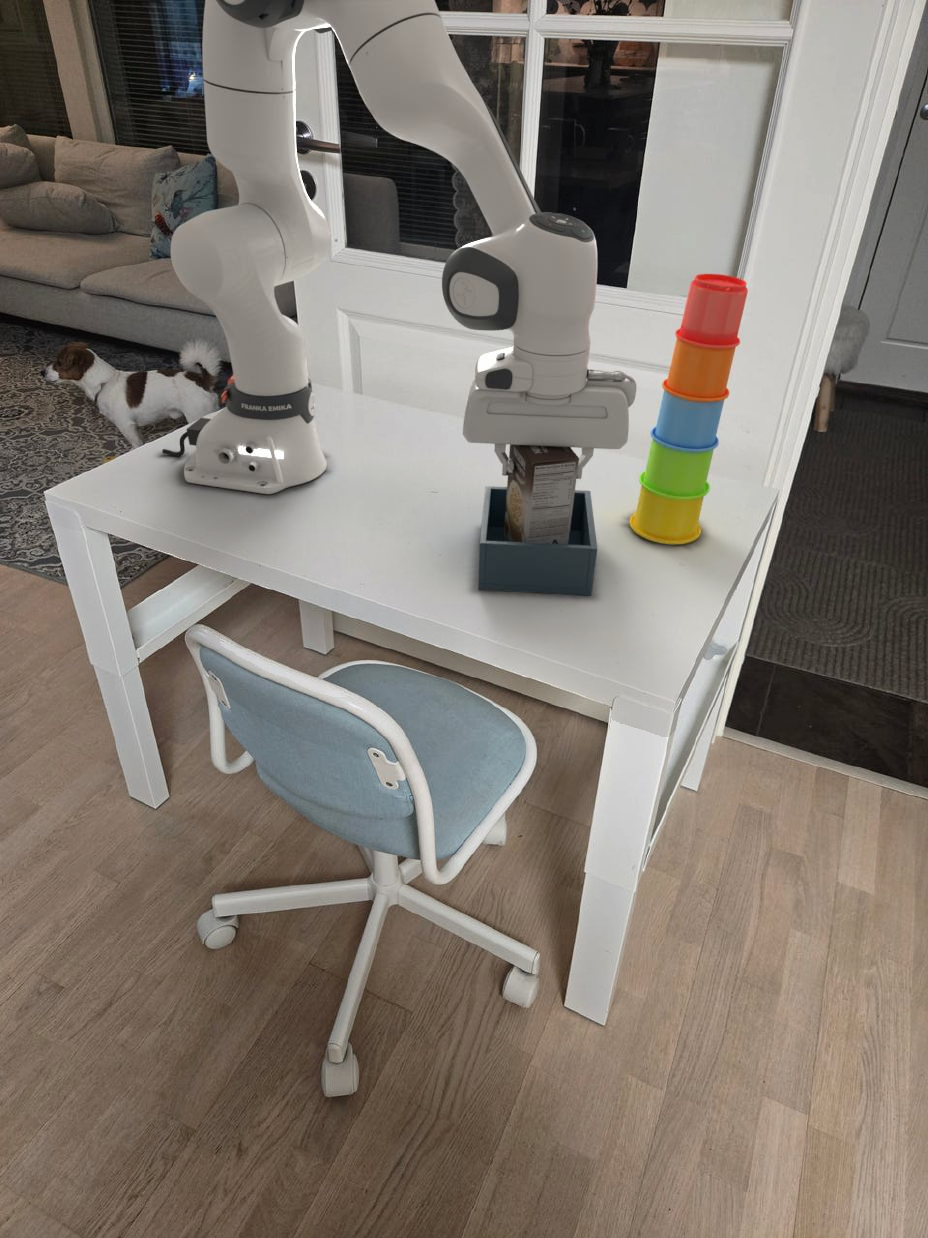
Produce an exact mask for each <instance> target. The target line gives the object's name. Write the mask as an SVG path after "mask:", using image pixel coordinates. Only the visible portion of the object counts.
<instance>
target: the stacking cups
mask: <svg viewBox="0 0 928 1238" xmlns="http://www.w3.org/2000/svg"><path fill="white" fill-rule="evenodd" d="M748 293H749V289H748V287H747V281H746V280H744V279H742V278H739V277H736V276H732V275H726V274H721V273H698V274H696V275H695V276H694V280H692V281H691V282H690V284H689V289H688V294H687V298H686V302H685V307H684V310H683V315H682V319H681V324H680V327H679V328H678V329H676V330H675V332H674V335H675V338H676V339H675V343H674V349H673V353H672V358H671V363H670V367H669V371H668V376H667V378H666V379H664V380H663V381H662V384H661V387H662V389H663V394H662V399H661V403H660V407H659V413H658V417H657V421H656V426H654V427H653V428H652V429H651V431H650V437H651V443H650V444H651V445H650V450H649V452H648V458H647V463H646V468H645V471H643V472H641V474H640V475H639V478H638V481H639V483H640V491H639V495H638V501H637V505H636V506H637V507H636V512H634V513H633V514H632V515H631V516H630V518H629V526H630V528H631V530H632V531H633V532H634V533H635V534H637V535H638V536H640V537H642V538H644V539H645V540H648V541H650V542H654V543H659V544H663V545H674V546H675V545H684V544H689V543H692V542H694V541H696V540H697V539H698V538H699V537H700V535H701V532H702V527H701V525H700V523H699V519H700V515H701V510H702V507H703V501H704V497H705V496H707V495H708V494H709V493H710V489H711V486H710V483H709V482H708V476H709V471H710V469H711V468H710V467H711V464H712V458H713V454H714V451H715V449H716V448H718V447H719V445H720V441H719V438H718V436H717V434H718V429H719V424H720V421H721V416H722V412H723V408H724V403H725V400H726V399H728V397H729V395H730V389H729V388H728V382H729V377H730V373H731V369H732V365H733V360H734V357H735V351H736V348H737V347H738V346H739V345H740V344H741V339H740V337H738V335H739V331H740V327H741V322H742V319H743V314H744V310H745V305H746V301H747V296H748Z"/></svg>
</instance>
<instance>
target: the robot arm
mask: <svg viewBox="0 0 928 1238" xmlns="http://www.w3.org/2000/svg"><path fill="white" fill-rule="evenodd" d="M437 5H438V4H437V2H436V0H205V1H204V11H203V23H202V24H203V25H202V46H201V47H202V54H201V55H202V80H203V95H204V96H203V97H204V112H205V126H206V128H205V129H206V142H207V146H208V149H209V151H210V153H211V155H212V156H213V158H214V159H215V160H216V161H217V162H218V163H219V164H220V165H221V166H222V167H224V168H225V169H227V170H228V171H230V172H231V173H232V175H233V178H234V180H235V183H236V186H237V191H238V199H239V200H238V204H235V205H232V206H231V205H230V206H227V207H222V208H217V209H211V210H207V211H204V212H202V213H199V214H198V215H196V216H194V217H192V218H190V219H189V220H187V221H185V222H183V223H182V224H180V225H179V226H178V227H176V229H175V230H174V232H173V234H172V237H171V241H170V250H169V251H170V260H171V264H172V268H173V270H174V273H175V275H176V277H177V278H178V280H179V282H180V283H181V284H182V286H183V287H184V288H185V290H187V291H188V292H189V293H190V294H191V295H193V296H194V297H195V298H197V299H199V300H201V301H202V302H203V303H205V304H206V305H207V306H208V308H209V309H210V310H211V311H212V312H213V314H214V315H215V317H216V319H217V320H218V322H219V324H220V326H221V327H222V330H223V333H224V336H225V339H226V344H227V348H228V354H229V357H230V358H229V359H230V362H231V369H232V376H231V377H230V378H229V379H228V380H227V385H226V386H225V387H224V388H223V393H222V394H221V395H220V397H221V403H222V404H225V405H226V406H225V407H224V408H223V409H222V410H220V411H219V412H218V413H217V414H216V415H214V416H213V417H212V418H206V417H200V418H199V419H198V420H196V421H195V422H193V423H192V424H191V425H190V426H188V427H187V428H186V431H185V432H184V433H183V434H181V436H180V438H179V451H173V450H169V449H166V448H162V450H161V452H162V454H165V455H168V456H171V457H177V458H178V457H181V456H183V455H184V454H185V452H186V448H185V440H186V439H187V440H188V444H189V446H195V452H193V454H191V456H190V457H188V459H187V461H186V463H185V464H184V468H183V477H184V479H185V482H187V483H188V484H189V483H190V484H194V485H195V484H196V485H202V486H210V487H217V488H222V489H229V490H234V491H235V490H236V491H242V492H243V491H244V492H250V493H256V494H257V493H258V494H263V495H264V494H265V495H272V494H276V493H278V492H281V491H283V490H284V489H287V488H291V487H294V486H299V485H302V484H306V483H308V482H311V481H313V480H315V479H317V478H318V477H320V476H321V475H322V474H323V473H324V472H325V471H326V470H327V468H328V467H327V466H328V463H327V460H326V457H325V455H324V453H323V450H322V447H321V444H320V440H319V437H318V432H317V428H316V423H315V419H314V418H315V412H316V407H315V397H314V396H315V395H314V391H313V385H312V380H311V379H310V378H309V373H308V362H307V353H306V352H307V351H306V341H305V334H304V332H303V330H302V328H301V326H300V325H299V324H298V323H297V322H295V320H293V319H292V318H290V317H288V316H286V315H285V314H282V313H281V310H280V308H279V305H278V303H277V300H276V295H275V288H276V287H277V286H282V285H284V284H287V283H291V282H293V281H296V280H300V279H303V278H304V277H306V276H307V275H309V274H310V273H312V272H314V271H315V270H317V268H319V267H320V266H322V265H323V264H324V263H325V262H326V260H327V259H328V258H329V255H330V251H331V247H332V236H331V231H330V226H329V223H328V221H327V218H326V217H325V215H324V213H323V212H322V210H321V209H320V208H319V207H318V206H317V204H315V203H314V202H313V201H312V200H311V199H310V196H309V195H308V193H307V190H306V187H305V185H304V182H303V179H302V174H301V171H300V166H299V160H298V152H297V151H298V150H297V126H296V71H295V69H296V68H295V57H296V47H297V44H298V41H299V39H300V38H301V37H302V35H303V34H304V33H305V32H306V31H311V30H314V31H315V32H316V33H318V34H324V33H328V32H334V33H335V36H336V38H337V39H338V42H339V44H340V47H341V50H342V52H343V55H344V57H345V60H346V63H347V65H348V67H349V69H350V71H351V72H350V73H351V75H352V78H353V79H354V82H355V85H356V87H357V90H358V92H359V95H360V97H361V99H362V100H363V102H364V104H365V107H367V109H368V111H369V112H370V113H371V115H372V116H373V118H374V120H375V121H376V123H377V124H378V125H379V126H380V127H381V128H382V129H383V130H385V131H386V132H387V133H389V134H390V135H392V136H394V137H396V138H398V139H400V140H403V141H405V142H409V143H411V144H415V145H418V146H421V147H422V148H425V149H427V150H429V151H432V152H433V153H436V154H437V155H439V156H441V157H443V159H446V160H447V161H449V162H450V163H452V165H453V166H455V168H457V169H458V171H459V173H461V175H462V176H463V178H464V180H465V181H466V182H467V185H468V187H469V189H470V191H471V193H472V195H473V197H474V200H475V201H476V203H477V205H478V207H479V209H480V211H481V213H482V215H483V217H484V219H485V221H486V223H487V225H488V227H489V229H490V231H491V233H492V236H489V237H485V238H482V239H479V240H475V241H472V242H470V243H467V244H465V245H462V247H460V248H457V249H456V250H454V251H453V252H452V253H451V254H450V255H449V257H448V258H447V259H446V262H445V264H444V267H443V271H442V277H441V288H442V289H441V291H442V292H441V293H442V296H443V300H444V303H445V306H446V308H447V310H448V311H449V313H450V315H451V316H452V318H454V320H455V321H457V322H458V324H459V325H461V326H463V327H464V328H467V329H468V330H474V331H490V332H491V331H494V332H495V331H504V330H507V331H510V332H511V333H512V336H513V345H512V346H508V347H505V348H502V349H498V350H494V351H490V352H486V353H484V354H483V353H482V354H480V356H479V357H478V359H477V361H476V363H475V367H474V379H473V381H472V382H471V385H470V386H469V389H468V393H467V398H466V403H465V409H464V416H463V424H462V436H463V437H464V439H465V440H466V441H467V442H468V443H470V444H488V445H489V444H491V445H494V453H495V455H496V456H497V459H498V460H499V462H500V463H501V464H502V470H501V476H504V477H505V476H507V477H508V476H513V474H514V458H509V456H508V455H507V452H506V451H507V450H506V449H507V445H509V446H510V445H532V446H554V447H570V448H577V449H578V448H579V449H581V454H580V456H578V457H579V463H578V471H577V478H576V480H582V475H583V469H584V468H585V466H586V465H587V464H588V462H590V460H591V459H592V458H593V456H594V449H600V450H601V449H603V450H621V449H622V448H623V447H624V446H625V445H626V444H627V443H628V440H629V429H630V428H629V426H630V425H629V423H630V417H629V416H630V415H629V408H630V407H631V406H632V405H633V404H634V402H635V399H636V394H637V383H636V380H635V379H634V377H632V376H631V375H629V374H626V373H627V372H625V371H623V370H614V371H611V370H603V369H589V359H590V349H591V335H590V320H591V317H592V316H593V315H592V314H593V312H594V309H595V303H596V294H597V281H598V280H597V279H598V246H597V239H596V237H595V234H594V231H593V230H592V228H590V226H589V225H587V224H586V222H584V221H582V220H581V219H578V218H576V217H574V216H571V215H568V214H564V213H556V212H550V211H549V212H548V211H543V212H542V211H541V209H540V206H538V203H537V202H536V200H535V198H534V195H533V194H532V191H531V189H530V187H529V185H528V183H527V180H526V179H525V177H524V175H523V173H522V171H521V168H520V166H519V163H518V162H517V160H516V157H515V156H514V154H513V151H512V149H511V147H510V145H509V143H508V140H507V139H506V136H505V135H504V132H503V130H502V129H501V127H500V125H499V123H498V121H497V119H496V117H495V116H494V114H493V111H492V110H491V109H490V106H489V105H488V104H487V102H486V100H485V99H484V98H483V96H482V95H481V93H480V92H479V91H478V90H477V88H476V86H475V85H474V83H473V82H472V80H471V78H470V77H469V75H468V72H467V71H466V69H465V67H464V65H463V63H462V62H461V59H460V58H459V56H458V53H457V51H456V49H455V47H454V45H453V43H452V40H451V38H450V36H449V33H448V31H447V27H446V26H445V23H444V21H443V19H442V15H441V13H440V10H439V7H438V6H437Z"/></svg>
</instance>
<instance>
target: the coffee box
mask: <svg viewBox="0 0 928 1238" xmlns="http://www.w3.org/2000/svg"><path fill="white" fill-rule="evenodd" d="M508 454H509V455H508V458H514V474H513V476H507V481H506V487H507V496H506V512H505V525H504V540H505V542H524V543H545V544H565V545H568V541H569V533H570V525H571V517H572V510H573V502H574V494H575V490H576V485H577V479H576V478H577V471H578V463H579V457H580V456H578V455H577V454H576V452H575V451H574V450H573V449H572V447H554V446H532V445H510V444H509V453H508Z"/></svg>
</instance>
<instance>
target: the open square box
mask: <svg viewBox="0 0 928 1238" xmlns="http://www.w3.org/2000/svg"><path fill="white" fill-rule="evenodd" d="M506 496H507V486H492V485H490V486H489V485H486V486H485V487H484V499H483V505H482V506H483V509H482V515H481V516H482V517H481V527H480V536H479V537H480V539H479V552H478V553H479V556H478V581H477V582H478V585H477V587H478V588H477V589H478V590H479V591H497V592H499V591H500V592H518V593H536V594H555V595H556V594H557V595H575V596H578V595H579V596H592V593H593V586H594V579H595V578H594V577H595V570H596V562H597V556H598V541H597V536H596V535H597V534H596V526H595V518H594V510H593V502H592V494H591V490H580V489H579V490H577V489H575V494H574V502H573V510H572V517H571V525H570V533H569V541H568V545H565V544H545V543H524V542H505V540H504V525H505V512H506Z"/></svg>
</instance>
